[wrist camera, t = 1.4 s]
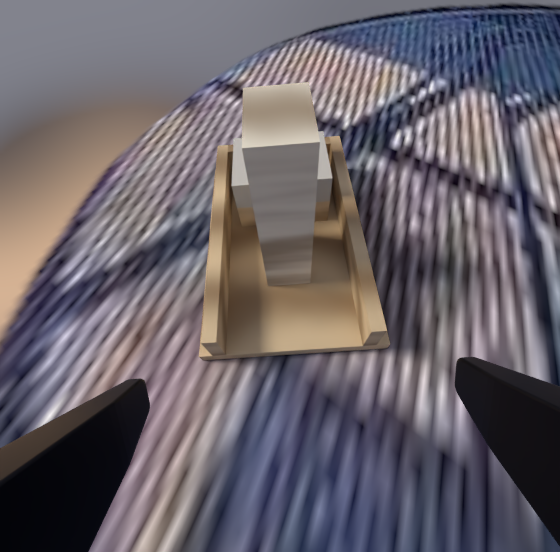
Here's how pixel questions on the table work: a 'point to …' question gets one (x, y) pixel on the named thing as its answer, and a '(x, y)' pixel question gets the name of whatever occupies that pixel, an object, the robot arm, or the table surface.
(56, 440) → the robot arm
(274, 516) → the table surface
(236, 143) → the offcut top
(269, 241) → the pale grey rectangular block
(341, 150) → the tray
